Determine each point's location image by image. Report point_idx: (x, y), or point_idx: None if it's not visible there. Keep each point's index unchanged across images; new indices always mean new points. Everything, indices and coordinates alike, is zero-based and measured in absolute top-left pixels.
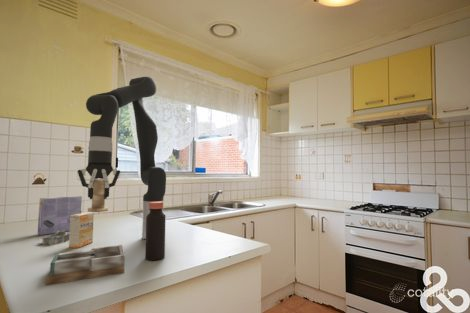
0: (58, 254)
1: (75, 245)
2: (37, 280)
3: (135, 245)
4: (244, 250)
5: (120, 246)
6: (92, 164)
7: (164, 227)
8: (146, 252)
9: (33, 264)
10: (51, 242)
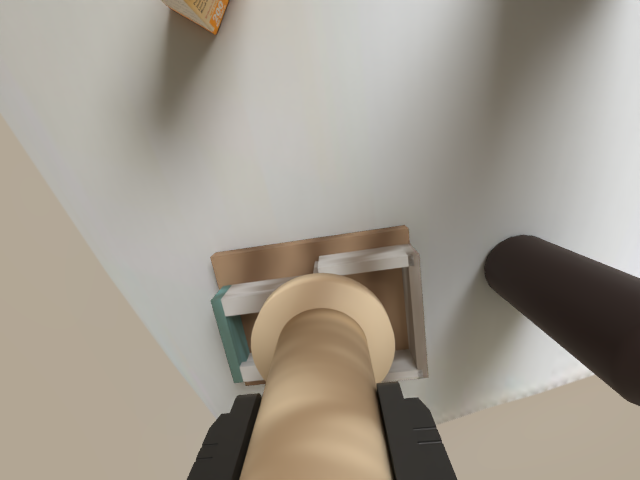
0: (222, 311)
1: (198, 23)
2: (218, 345)
3: (465, 64)
4: None
5: (415, 275)
6: None
7: None
8: (498, 289)
9: (143, 217)
10: None
